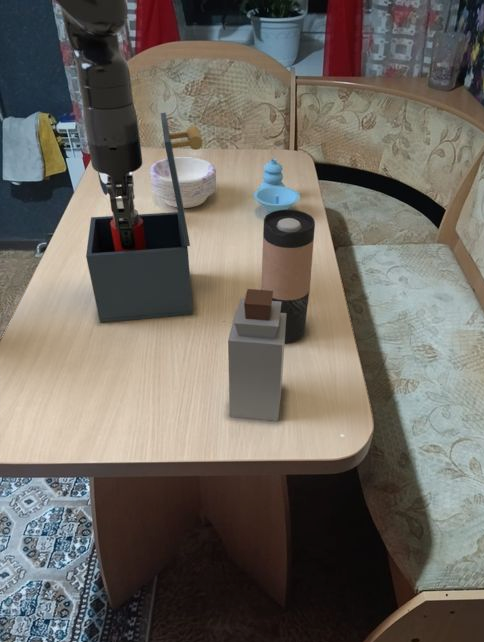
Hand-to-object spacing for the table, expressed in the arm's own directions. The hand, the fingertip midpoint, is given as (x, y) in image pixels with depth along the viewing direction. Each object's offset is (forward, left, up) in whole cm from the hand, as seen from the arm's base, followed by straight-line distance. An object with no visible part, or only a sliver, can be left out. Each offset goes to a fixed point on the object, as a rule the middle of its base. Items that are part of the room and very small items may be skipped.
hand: (128, 238), depth 90 cm
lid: (+6, +5, +10) cm, 13 cm away
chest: (+1, +1, -12) cm, 12 cm away
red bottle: (0, 0, -7) cm, 7 cm away
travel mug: (+27, +4, -12) cm, 30 cm away
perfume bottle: (+31, -13, -12) cm, 36 cm away
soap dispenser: (+4, +46, -12) cm, 48 cm away
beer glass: (-21, +22, -12) cm, 33 cm away
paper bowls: (-16, +39, -12) cm, 44 cm away
